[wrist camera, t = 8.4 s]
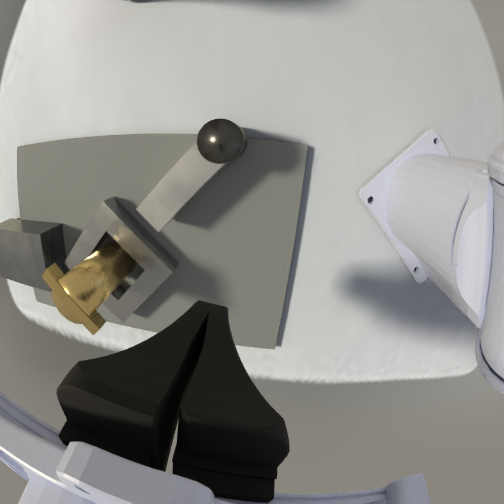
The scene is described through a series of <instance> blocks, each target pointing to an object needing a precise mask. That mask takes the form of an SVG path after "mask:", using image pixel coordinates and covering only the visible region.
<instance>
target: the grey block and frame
mask: <svg viewBox="0 0 504 504" xmlns="http://www.w3.org/2000/svg"><path fill="white" fill-rule="evenodd" d="M109 234H110V235H111V236H112V237H113V238H114V239H115V240H116V242H117V243H118V244H119V245H120V246H121V247H122V248H123V249H124V250H125V251H126V252H127V253H128V254H129V255H130V256H131V257H132V258H133V259H134V260H135V261H136V262H137V263H138V264H139V265H140V266H141V267H142V268H143V269H144V270H145V271H144V272H143V273H142V274H141V275H140V276H139V278H138V279H137V280H136V281H135V282H134V283H133V284H132V285H131V287H130V288H129V289H128V290H127V291H126V290H125V289H124V288H123V287H122V286H121V285H119V286H118V287H117V288H116V289H115V290H114V291H113V292H112V293H111V294H110V295H109V297H108V298H107V299H106V300H105V301H104V302H103V304H104V305H105V306H106V307H107V308H108V309H109V310H110V311H111V312H112V313H113V314H114V315H115V316H116V317H117V318H118V319H120V320H121V321H122V322H123V323H124V322H125V321H126V320H127V319H128V318H129V317H130V315H131V314H132V313H133V312H134V311H135V310H136V309H137V308H138V307H139V306H140V305H141V304H142V303H143V302H144V301H145V300H146V299H147V298H148V297H149V296H150V295H151V294H152V293H153V292H154V291H155V290H156V289H157V288H158V287H159V286H160V285H161V284H162V283H163V282H164V281H165V280H166V279H167V278H168V277H169V276H170V275H171V274H172V273H173V272H174V270H175V269H176V268H177V266H178V265H179V262H178V261H177V260H176V259H175V258H174V257H173V256H172V255H171V254H170V253H169V252H168V251H167V250H166V249H165V248H164V247H163V246H162V245H161V244H160V243H159V242H158V241H157V240H156V239H155V238H154V237H153V236H152V235H151V234H150V233H149V232H148V231H147V230H146V229H145V228H144V227H143V226H142V225H141V224H140V223H139V222H138V221H137V220H136V219H135V218H134V217H133V216H132V215H131V214H130V213H129V212H128V210H127V209H126V208H125V207H124V206H123V205H122V204H121V203H120V202H119V201H118V200H117V199H116V198H115V197H111V198H109V199H107V200H104V201H103V202H102V203H101V205H100V206H99V208H98V209H97V210H96V212H95V213H94V215H93V216H92V218H91V220H90V221H89V223H88V224H87V226H86V227H85V229H84V230H83V232H82V234H81V235H80V237H79V239H78V240H77V242H76V243H75V245H74V247H73V249H72V250H71V252H70V254H69V255H68V257H66V251H65V243H64V235H63V226H62V223H54V222H44V221H33V220H23V219H12V218H11V219H8V220H6V221H4V222H2V223H0V275H1V277H4V278H7V279H10V280H13V281H16V282H19V283H22V284H25V285H28V286H32V287H35V288H38V289H42V290H45V291H49V292H52V289H51V288H50V287H49V285H48V284H47V283H46V282H45V280H44V279H43V278H42V276H43V274H44V272H45V270H46V269H47V268H48V267H50V266H51V265H52V264H54V263H56V264H57V266H58V267H59V268H60V269H61V271H62V272H63V273H64V274H66V273H67V272H68V271H69V270H68V268H69V269H70V270H71V269H72V268H74V267H75V266H76V265H78V264H79V263H80V262H82V261H83V260H84V259H86V258H87V257H88V256H90V255H91V254H93V253H94V252H95V251H97V250H98V249H99V248H100V247H101V245H102V244H103V242H104V241H105V239H106V238H107V237H108V235H109Z"/></svg>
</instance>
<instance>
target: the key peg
mask: <svg viewBox="0 0 504 504" xmlns="http://www.w3.org/2000/svg"><path fill="white" fill-rule="evenodd" d="M135 266H136V261H135V260H134V259H133V258H132V257H131V256H130V255H129V254H128V253H127V252H126V251H125V250H124V249H123V248H122V247H121V246H120V245H119V244H118V243H117V242H116V240H115V239H114V240H111V241H109V242H108V243H107V244H105V245H104V246H102V247H101V248H99V249H98V250H97V251H95V252H94V253H93V254H91V255H90V256H88V257H87V258H86V259H84V260H83V261H82V262H80V263H79V264H78V265H76V266H75V267H74V268H72V269H71V270H70V271H68V272H67V273H66V274H64V273H63V272H62V271H61V269H60V268H59V267H58V266H57V264H56V263H54V264H52V265H51V266H50V267H48V268H47V269H46V270H45V272H44V274H43V276H42V278H43V279H44V280H45V282H46V283H47V284H48V285H49V287H50V288H51V289H52V298H53V301H54V304H55V306H56V307H57V309H58V310H59V312H60V313H61V314H62V315H63V316H64V317H65V318H66V319H68V320H69V321H71V322H73V323H76V324H83V325H84V326H85V327H86V328H87V329H88V330H89V331H90V332H91V333H92V334H93V335H94V334H95V333H96V332H97V331H98V330H99V329H100V328H101V327H102V326H103V325H104V323H105V322H106V320H105V319H104V318H103V317H102V316H101V315H100V314H99V313H98V312H97V311H96V310H97V309H98V307H99V306H100V305H101V304H102V303H103V302H104V301H105V300H106V299H107V298H108V297H109V295H110V294H111V293H112V292H113V291H114V290H115V289H116V288H117V287H118V286H119V285H120V284H121V283H122V282H123V281H124V280H125V278H126V277H127V276H128V275H129V274H130V273H131V272H132V271H133V270H134V268H135Z"/></svg>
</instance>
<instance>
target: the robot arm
mask: <svg viewBox="0 0 504 504" xmlns="http://www.w3.org/2000/svg"><path fill="white" fill-rule="evenodd" d="M434 139H436V141H437V142H436V144H434ZM359 197H360V199H361V200H362V202H363V203H364V204H365V206H366V207H367V208H368V210H369V211H370V213H371V214H372V215H373V217H374V218H375V220H376V221H377V222H378V224H379V225H380V227H381V228H382V230H383V231H384V232H385V234H386V235H387V237H388V238H389V240H390V241H391V243H392V244H393V246H394V247H395V249H396V250H397V252H398V253H399V255H400V257H401V258H402V260H403V261H404V263H405V264H406V266H407V268H408V269H409V271H410V273H411V274H412V276H413V278H414V279H415V281H416V282H417V283H419V284H420V283H423V282H424V281H425V280H426V279H427V278H430V279H431V280H432V281H433V282H434V283H435V284H436V285H437V286H438V287H439V288H440V289H441V290H442V291H443V292H444V294H445V295H446V296H447V297H448V298H449V299H450V300H451V301H452V302H453V303H454V304H455V305H456V306H457V307H458V308H459V309H460V311H461V312H463V313H464V314H465V315H467V316H468V318H469V319H470V320H471V321H472V322H473V323H474V324H475V325H476V327H477V328H478V329H479V332H478V336H477V340H476V346H475V353H476V360H477V364H478V367H479V369H480V371H481V373H482V375H483V376H484V378H485V379H486V380H487V382H488V383H489V384H490V385H491V386H492V387H493V388H495V389H496V390H497V391H499V392H500V393H502V394H504V143H503V144H500V145H499V146H498V147H497V148H496V150H495V151H494V152H493V154H491V155H490V156H489V157H488V159H487V163H485V162H480V161H475V160H469V159H463V158H457V157H451V156H450V154H449V152H448V150H447V149H446V147H445V145H444V143H443V142H442V140H441V138H440V137H439V135H438V133H437V132H436V131H435V130H434V129H428V130H426V131H425V132H424V133H423V134H422V135H421V136H420V137H419V138H418V139H416V140H415V141H414V142H413V143H412V144H411V145H410V146H409V147H407V148H406V149H405V150H404V151H403V152H402V153H401V154H400V155H398V156H397V157H396V158H395V159H394V160H393V161H392V162H391V163H389V164H388V165H387V166H386V167H385V168H384V169H383V170H381V171H380V172H379V173H378V174H377V175H376V176H375V177H373V178H372V179H371V180H370V181H369V182H368V183H366V184H365V185H364V186H363V187H362V188H361V189H360V190H359ZM369 197H372V198H373V200H372V202H371V203H368V198H369ZM416 267H417V269H416V270H415V271H414V269H415V268H416ZM228 311H229V309H228V308H227V307H225V306H221V305H217V304H213V303H209V302H205V301H201V300H198V301H196V302H195V303H194V304H193V305H192V306H191V307H190V308H189V309H188V310H187V311H186V312H185V313H184V314H183V315H181V316H180V317H179V318H178V319H177V320H175V321H174V322H173V323H172V324H170V325H169V326H167V327H166V328H165V329H163V330H162V331H160V332H159V333H157V334H156V335H154V336H152V337H151V338H149V339H147V340H145V341H143V342H141V343H139V344H137V345H135V346H133V347H131V348H128V349H126V350H123V351H120V352H117V353H115V354H111V355H108V356H104V357H100V358H95V359H89V360H85V361H79V362H78V363H77V364H76V365H75V366H74V367H73V368H72V369H71V370H70V372H69V373H68V374H67V375H66V377H65V378H64V380H63V381H62V383H61V384H60V385H59V387H58V388H57V396H58V400H59V403H60V405H61V407H62V410H63V411H64V414H65V416H66V418H67V421H66V423H65V425H64V426H63V428H62V430H61V431H59V430H58V429H56V428H54V427H53V426H51V425H49V424H47V423H46V422H44V421H42V420H41V419H39V418H38V417H36V416H35V415H33V414H31V413H30V412H28V411H27V410H25V409H24V408H22V407H21V406H20V405H18V404H17V403H15V402H14V401H13V400H11V399H10V398H8V397H7V396H6V395H5V394H3V393H2V392H1V391H0V460H1V461H2V462H4V463H5V464H6V465H7V466H9V467H10V468H11V469H12V470H14V471H15V472H16V473H18V474H19V475H20V476H21V477H23V478H24V479H26V480H27V481H28V484H27V486H26V488H25V490H24V492H23V494H22V496H21V498H20V501H19V503H18V504H431V501H430V497H429V494H428V490H427V486H426V483H425V480H424V476H423V474H417V475H412V476H407V477H403V478H399V479H397V480H395V481H393V482H391V483H390V484H389V485H387V486H386V487H384V488H377V489H370V490H362V491H353V492H342V493H325V494H286V493H285V494H284V493H274V479H276V478H277V467H278V466H279V465H280V464H281V463H282V461H283V460H284V459H285V458H286V457H287V455H288V453H289V438H288V433H287V429H286V425H285V421H284V419H283V418H282V417H281V416H280V415H279V414H278V413H277V412H276V411H275V410H274V409H273V408H272V407H271V406H270V405H269V403H268V402H267V401H266V400H265V399H264V397H263V396H262V395H261V393H260V392H259V391H258V389H257V388H256V386H255V385H254V383H253V382H252V380H251V379H250V377H249V375H248V373H247V372H246V370H245V368H244V366H243V364H242V362H241V360H240V357H239V355H238V352H237V350H236V347H235V344H234V341H233V337H232V333H231V329H230V324H229V317H228ZM178 419H179V422H178ZM177 422H178V434H177V444H176V448H175V451H174V455H173V460H172V462H173V474H170V473H166V472H165V471H166V466H167V462H168V458H169V454H170V450H171V446H172V442H173V437H174V434H175V430H176V426H177Z"/></svg>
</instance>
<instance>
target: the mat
mask: <svg viewBox="0 0 504 504" xmlns="http://www.w3.org/2000/svg"><path fill="white" fill-rule="evenodd" d="M197 136H198V135H197V134H130V135H109V136H95V137H84V138H74V139H65V140H57V141H49V142H42V143H36V144H30V145H24V146H19V147H17V180H18V197H19V209H20V218H21V219H23V220H33V221H44V222H54V223H62V226H63V235H64V243H65V251H66V257H68V255H69V254H70V252H71V250H72V249H73V247H74V245H75V243H76V242H77V240H78V239H79V237H80V235H81V234H82V232H83V230H84V229H85V227H86V226H87V224H88V223H89V221H90V220H91V218H92V216H93V215H94V213H95V212H96V210H97V209H98V208H99V206H100V205H101V203H102V202H103V201H104V200H107V199H109V198H111V197H115V198H116V199H117V200H118V201H119V202H120V203H121V204H122V205H123V206H124V207H125V208H126V209H127V210H128V212H129V213H130V214H131V215H132V216H133V217H134V218H135V219H136V220H137V221H138V222H139V223H140V224H141V225H142V226H143V227H144V228H145V229H146V230H147V231H148V232H149V233H150V234H151V235H152V236H153V237H154V238H155V239H156V240H157V241H158V242H159V243H160V244H161V245H162V246H163V247H164V248H165V249H166V250H167V251H168V252H169V253H170V254H171V255H172V256H173V257H174V258H175V259H176V260H177V261H178V262H179V265H178V266H177V268H176V269H175V270H174V272H173V273H172V274H171V275H170V276H169V277H168V278H167V279H166V280H165V281H164V282H163V283H162V284H161V285H160V286H159V287H158V288H157V289H156V290H155V291H154V292H153V293H152V294H151V295H150V296H149V297H148V298H147V299H146V300H145V301H144V302H143V303H142V304H141V305H140V306H139V307H138V308H137V309H136V310H135V311H134V312H133V313H132V314H131V315H130V317H129V318H128V319H127V320H126V321H125V322H124V323H123V322H122V321H121V320H120V319H118V318H117V317H116V316H115V315H114V314H113V313H112V312H111V311H110V310H109V309H108V308H107V307H106V306H105V305H104V304H103V303H102V304H101V305H100V306H99V307H98V309H97V310H96V311H97V312H98V313H99V314H100V315H101V316H102V317H103V318H104V319H105V320H106V321H108V322H112V323H116V324H120V325H125V326H129V327H133V328H138V329H143V330H147V331H152V332H157V333H159V332H160V331H162V330H163V329H165V328H166V327H167V326H169V325H170V324H172V323H173V322H174V321H175V320H177V319H178V318H179V317H180V316H181V315H183V314H184V313H185V312H186V311H187V310H188V309H189V308H190V307H191V306H192V305H193V304H194V303H195V302H196V301H198V300H201V301H205V302H209V303H213V304H217V305H221V306H225V307H227V308H228V309H229V311H228V317H229V324H230V329H231V333H232V337H233V341H234V344H235V345H239V346H248V347H257V348H267V349H275V347H276V342H277V337H278V332H279V326H280V321H281V316H282V310H283V305H284V300H285V294H286V288H287V283H288V277H289V271H290V265H291V259H292V253H293V247H294V241H295V234H296V228H297V221H298V214H299V208H300V201H301V194H302V186H303V179H304V171H305V164H306V156H307V148H308V145H304V144H297V143H290V142H282V141H274V140H265V139H256V138H247V141H248V143H247V148H246V150H245V152H244V153H243V154H242V155H241V156H240V157H239V158H237V159H235V160H232V161H230V162H229V163H228V164H227V165H226V166H225V167H224V168H223V169H222V170H221V171H220V172H219V173H218V174H217V175H216V176H215V177H214V178H213V179H212V180H211V181H210V182H209V183H208V184H207V185H206V186H205V187H204V188H203V189H202V190H201V191H200V192H199V193H198V194H197V195H196V196H195V197H194V198H193V199H192V200H191V201H190V202H189V203H188V204H187V205H186V206H185V207H184V208H183V209H182V210H181V211H180V213H179V214H178V215H177V216H176V217H175V218H174V219H173V220H172V221H171V222H170V223H169V224H168V225H166V226H165V227H164V228H163V229H162V230H160V231H159V232H158V231H157V230H156V229H155V228H154V227H153V226H152V225H151V224H150V223H149V222H148V221H147V220H146V219H145V218H144V217H143V216H142V215H141V214H140V213H139V212H138V211H137V210H136V209H137V208H138V206H139V205H140V204H141V203H142V202H143V200H144V199H145V198H146V197H147V196H148V194H149V193H150V192H151V191H152V190H153V189H154V187H155V186H156V185H157V184H158V183H159V182H160V181H161V179H162V178H163V177H164V176H165V175H166V174H167V173H168V172H169V170H170V169H171V168H172V167H173V166H174V165H175V164H176V163H177V162H178V161H179V160H180V159H181V157H182V156H183V155H184V154H185V153H186V152H187V151H188V150H189V149H190V148H191V147H192V146H193V145H194V144H195V143H196V142H197ZM111 240H114V238H113V237H112V236H111V235H110V234H109V235H108V237H107V238H106V239H105V241H104V242H103V244H102V245H101V247H102V246H104V245H105V244H107V243H108V242H109V241H111ZM101 247H100V248H101ZM68 270H69V271H70V269H69V268H68ZM144 271H145V270H144V269H143V268H142V267H141V266H140V265H139V264H138V263H137V262H136V266H135V268H134V270H133V271H132V272H131V273H130V274H129V275H128V276H127V277H126V278H125V280H124V281H123V282H122V283H121V284H120V285H121V286H122V287H123V288H124V289H125V290H126V291H127V290H128V289H129V288H130V287H131V285H132V284H133V283H134V282H135V281H136V280H137V279H138V278H139V276H140V275H141V274H142V273H143V272H144ZM33 288H34V292H35V296H36V300H37V301H38V302H41V303H44V304H47V305H50V306H54V307H56V306H55V304H54V301H53V298H52V292H49V291H45V290H42V289H38V288H35V287H33Z"/></svg>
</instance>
